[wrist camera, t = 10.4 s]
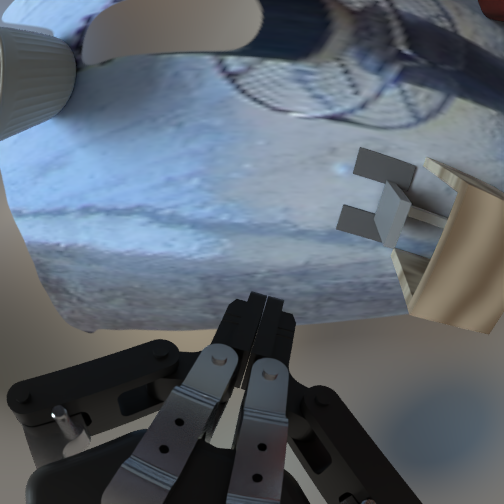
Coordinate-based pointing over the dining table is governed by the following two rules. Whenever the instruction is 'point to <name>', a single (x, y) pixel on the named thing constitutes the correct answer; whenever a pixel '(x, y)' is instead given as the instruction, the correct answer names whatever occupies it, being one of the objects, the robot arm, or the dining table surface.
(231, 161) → the dining table surface
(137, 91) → the dining table surface
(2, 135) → the canister
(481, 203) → the tunnel
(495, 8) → the plant pot
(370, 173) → the pit pad
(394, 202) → the grey elongated piece
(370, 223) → the plate
